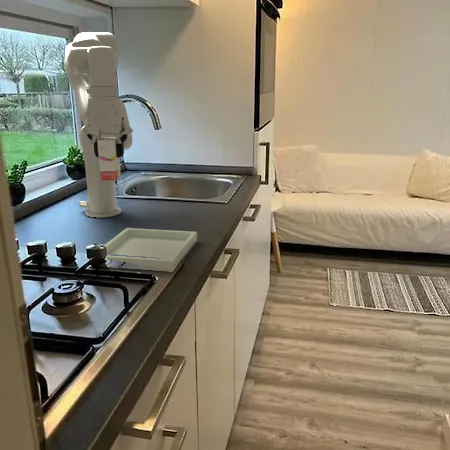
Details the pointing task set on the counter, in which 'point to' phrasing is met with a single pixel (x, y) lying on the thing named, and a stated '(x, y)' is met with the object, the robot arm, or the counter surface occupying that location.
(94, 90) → the robot arm
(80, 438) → the counter surface
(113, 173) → the ink cartridge box
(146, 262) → the sage tray
